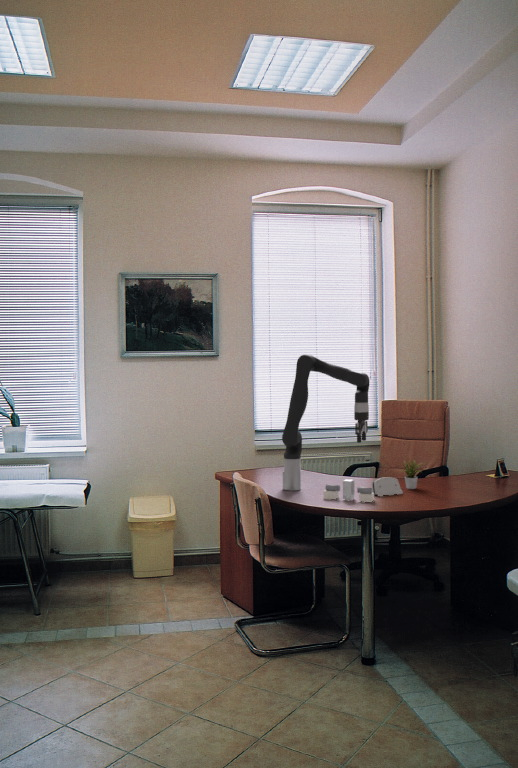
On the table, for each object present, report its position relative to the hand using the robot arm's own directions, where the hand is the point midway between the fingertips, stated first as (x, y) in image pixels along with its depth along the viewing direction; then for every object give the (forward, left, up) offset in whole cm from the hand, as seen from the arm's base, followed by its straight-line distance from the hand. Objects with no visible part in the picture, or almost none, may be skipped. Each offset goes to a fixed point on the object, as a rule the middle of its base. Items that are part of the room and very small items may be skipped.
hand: (361, 441), depth 356 cm
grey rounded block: (+12, +6, -28) cm, 31 cm away
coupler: (-2, -16, -28) cm, 32 cm away
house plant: (+21, +26, -28) cm, 44 cm away
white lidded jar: (-12, -16, -28) cm, 34 cm away
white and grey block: (+7, -16, -28) cm, 33 cm away
